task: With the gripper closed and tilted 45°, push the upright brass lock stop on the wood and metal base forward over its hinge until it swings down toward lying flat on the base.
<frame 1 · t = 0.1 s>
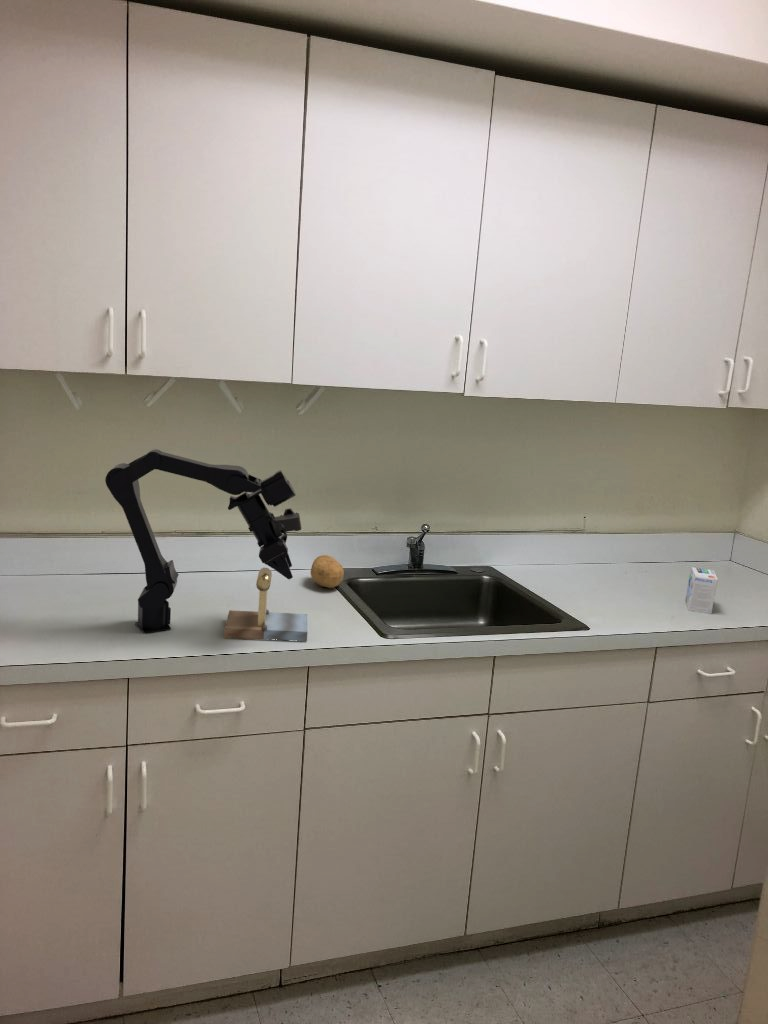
hand: (290, 572, 190), 15 cm above the counter, tool tilted 35°, fingers open, 9 cm apart
lock stop: (263, 596, 191), point 9 cm above the counter, hinge at 0.0°
potato: (326, 586, 231), on the counter
wood and metal base: (264, 630, 193), on the counter
light bulb box: (698, 607, 241), on the counter
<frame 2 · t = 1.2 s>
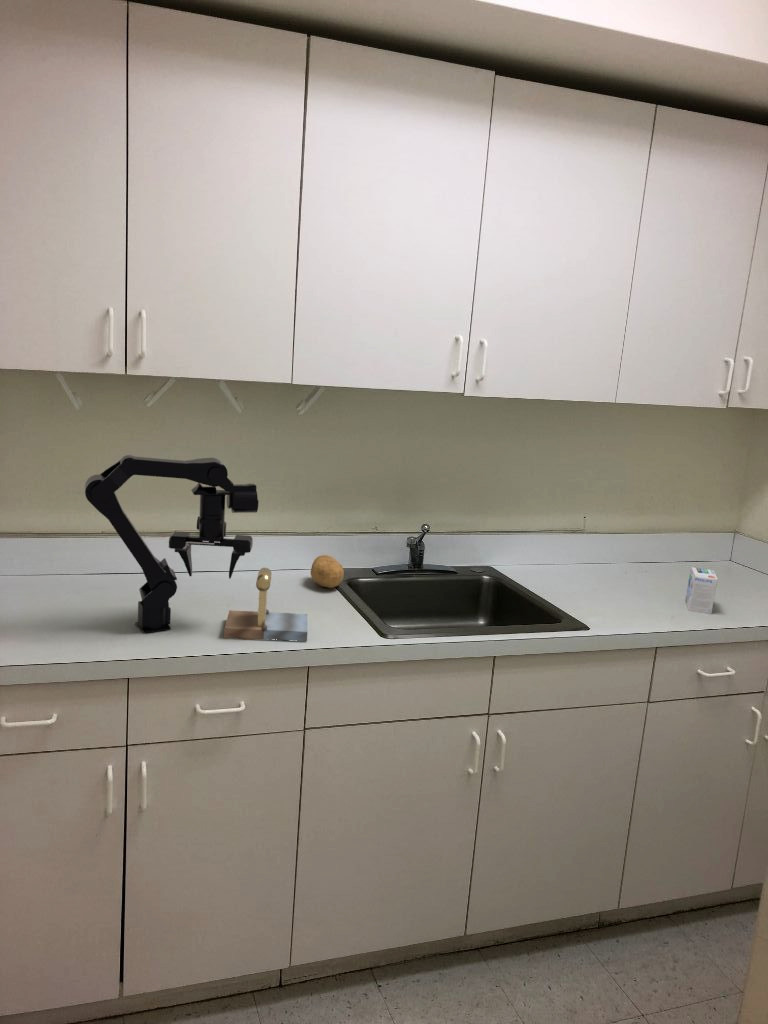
hand: (210, 577, 191), 12 cm above the counter, tool pointing down, fingers open, 9 cm apart
nothing on the counter moved.
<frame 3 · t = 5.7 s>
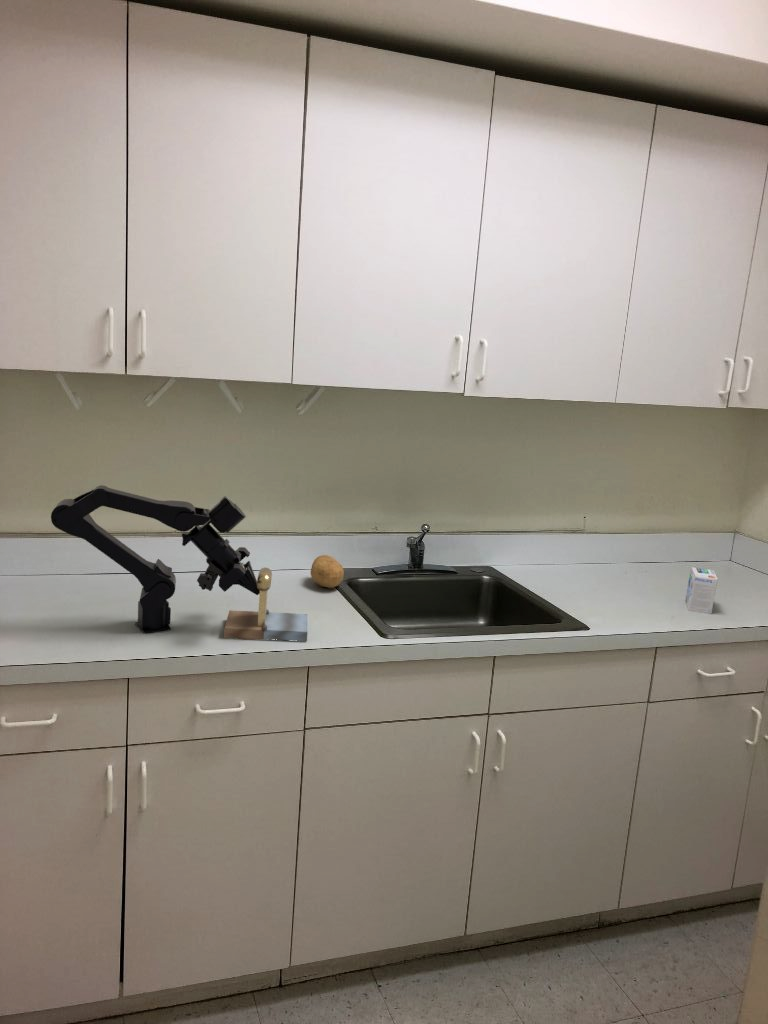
hand: (259, 593, 191), 9 cm above the counter, tool tilted 45°, fingers closed, pressing on lock stop
lock stop: (263, 596, 191), point 9 cm above the counter, hinge at 0.4°, touching gripper
everything else where it was.
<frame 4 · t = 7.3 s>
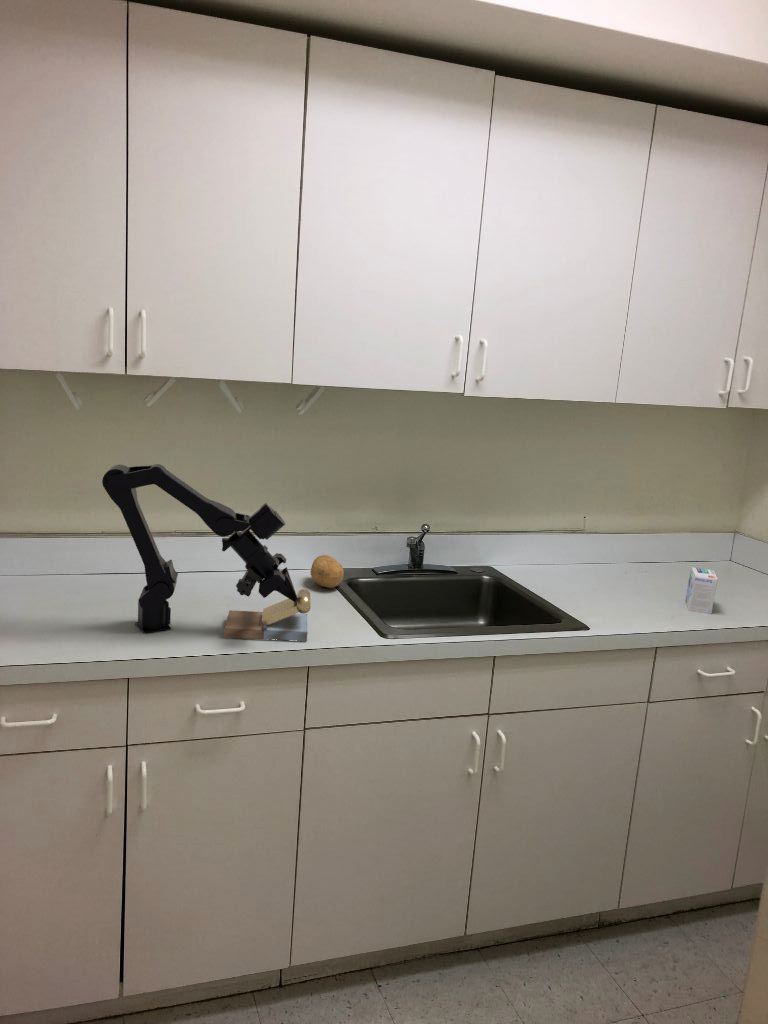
hand: (295, 600, 193), 8 cm above the counter, tool tilted 45°, fingers closed, pressing on lock stop
lock stop: (286, 607, 192), point 6 cm above the counter, hinge at 63.5°, touching gripper
everything else where it was.
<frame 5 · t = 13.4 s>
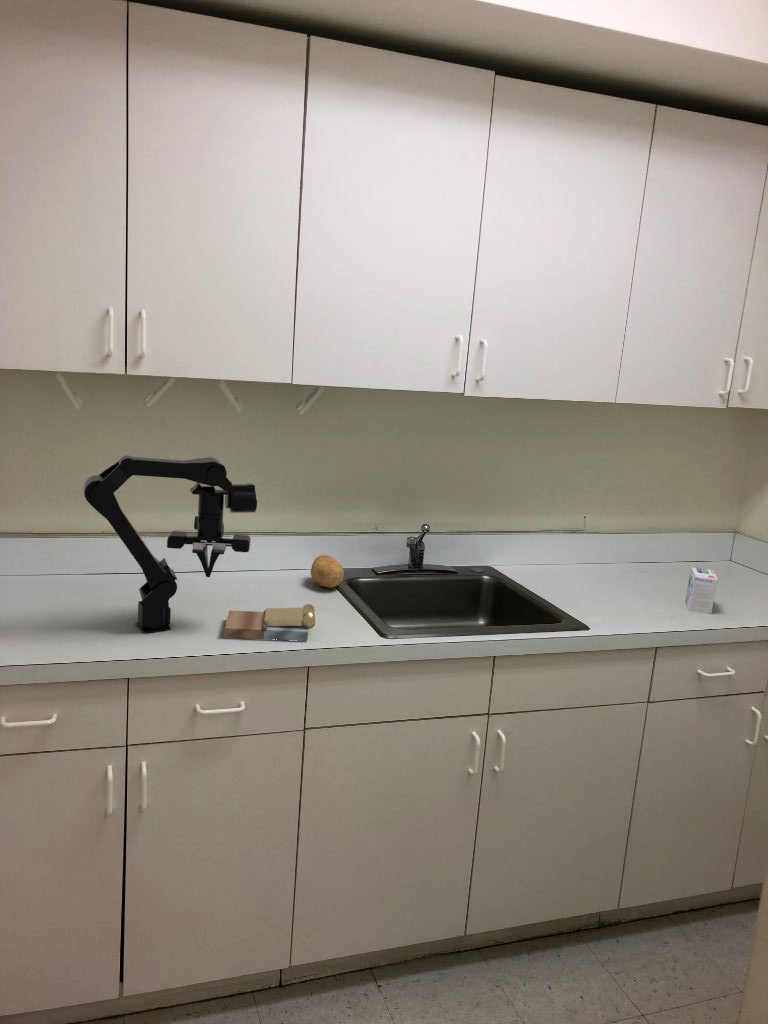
hand: (208, 576, 191), 12 cm above the counter, tool pointing down, fingers closed
lock stop: (290, 616, 193), point 4 cm above the counter, hinge at 86.1°, touching wood and metal base
everything else where it was.
at the end: lock stop at +86° (first picture: +0°); potato moved 0.3 cm from its start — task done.
